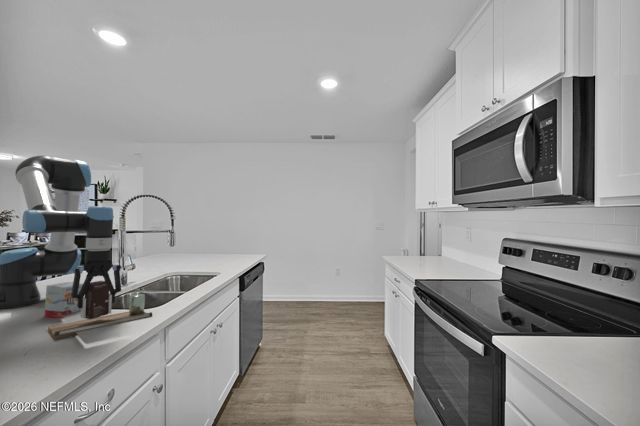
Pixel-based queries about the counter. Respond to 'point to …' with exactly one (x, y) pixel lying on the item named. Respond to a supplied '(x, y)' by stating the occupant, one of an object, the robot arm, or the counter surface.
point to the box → (97, 299)
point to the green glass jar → (136, 304)
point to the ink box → (60, 300)
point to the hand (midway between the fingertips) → (96, 314)
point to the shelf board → (91, 324)
